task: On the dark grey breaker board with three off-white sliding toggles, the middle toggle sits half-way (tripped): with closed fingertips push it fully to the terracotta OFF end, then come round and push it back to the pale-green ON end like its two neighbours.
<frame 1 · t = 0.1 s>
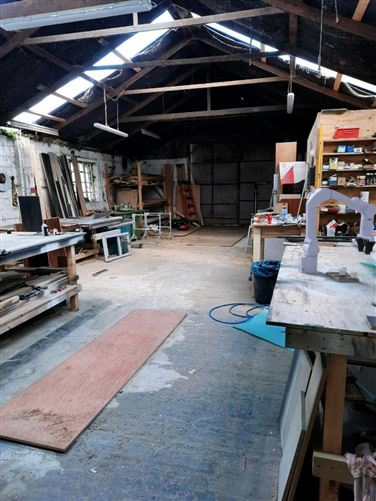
hand: (364, 253, 169), 10 cm above the workbench, fingers open, 7 cm apart
breaker near: (353, 274, 152), point 3 cm above the workbench, slide at 3.0 cm
panel: (341, 278, 158), on the workbench
breaker mid: (342, 271, 157), point 3 cm above the workbench, slide at 0.0 cm
breaker far: (343, 269, 163), point 3 cm above the workbench, slide at 3.0 cm
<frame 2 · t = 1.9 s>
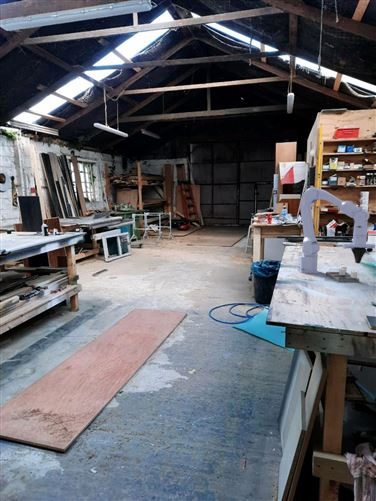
hand: (357, 263, 156), 8 cm above the workbench, fingers closed
nothing on the workbench moved.
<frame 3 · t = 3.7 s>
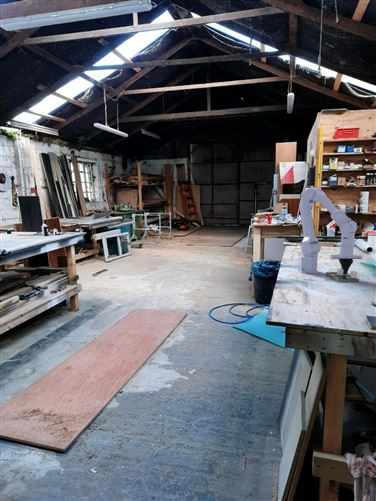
hand: (344, 273, 158), 2 cm above the workbench, fingers closed
breaker mid: (340, 271, 157), point 3 cm above the workbench, slide at -1.0 cm, touching gripper
everything else where it was.
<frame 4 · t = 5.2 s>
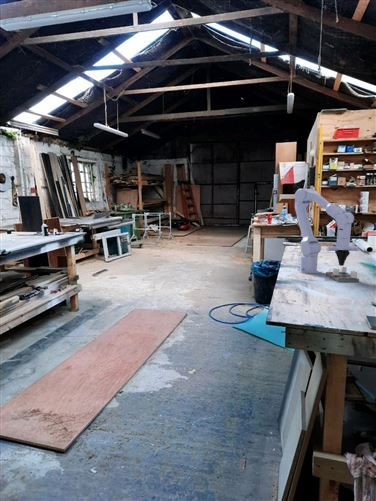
hand: (341, 265, 157), 6 cm above the workbench, fingers closed
breaker mid: (335, 271, 157), point 3 cm above the workbench, slide at -3.1 cm
everything else where it was.
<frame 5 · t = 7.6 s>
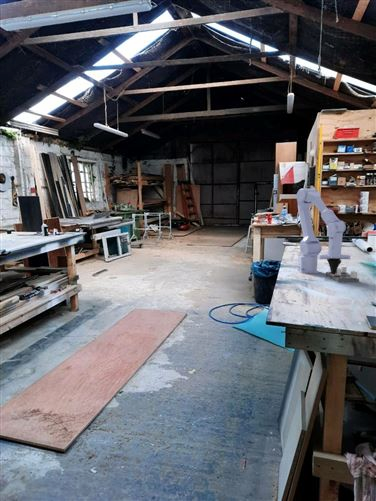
hand: (333, 273, 158), 2 cm above the workbench, fingers closed
breaker mid: (337, 271, 157), point 3 cm above the workbench, slide at -2.1 cm, touching gripper
everything else where it was.
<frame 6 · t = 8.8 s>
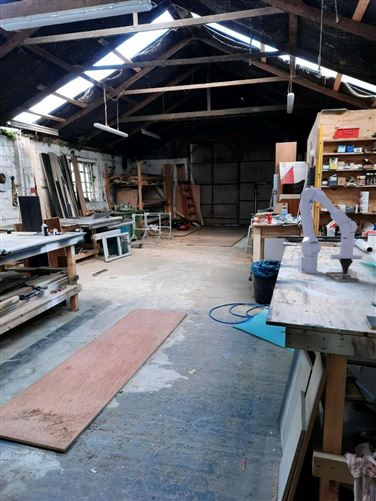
hand: (344, 273, 158), 2 cm above the workbench, fingers closed
breaker mid: (348, 271, 157), point 3 cm above the workbench, slide at 3.2 cm, touching gripper
everything else where it was.
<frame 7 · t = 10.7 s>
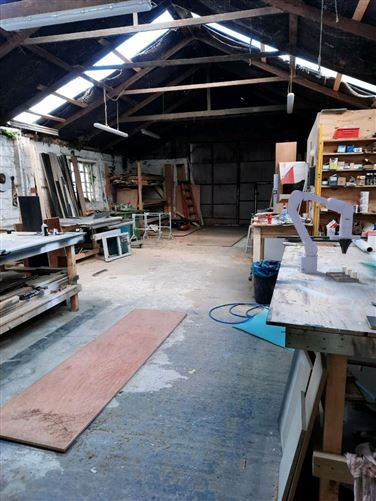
hand: (343, 253, 165), 10 cm above the workbench, fingers closed
breaker mid: (348, 271, 157), point 3 cm above the workbench, slide at 3.1 cm
everything else where it was.
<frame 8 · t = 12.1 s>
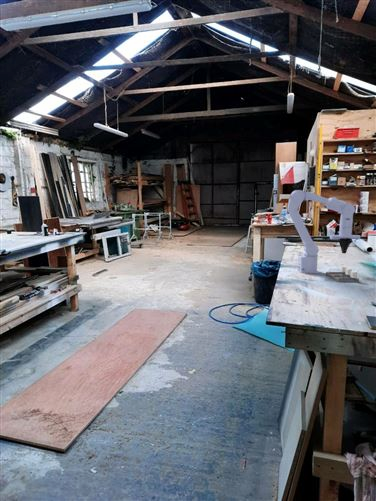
hand: (343, 253, 167), 10 cm above the workbench, fingers closed
nothing on the workbench moved.
at the end: breaker mid slide at 3.1 cm; breaker far slide at 3.0 cm; breaker near slide at 3.0 cm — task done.
